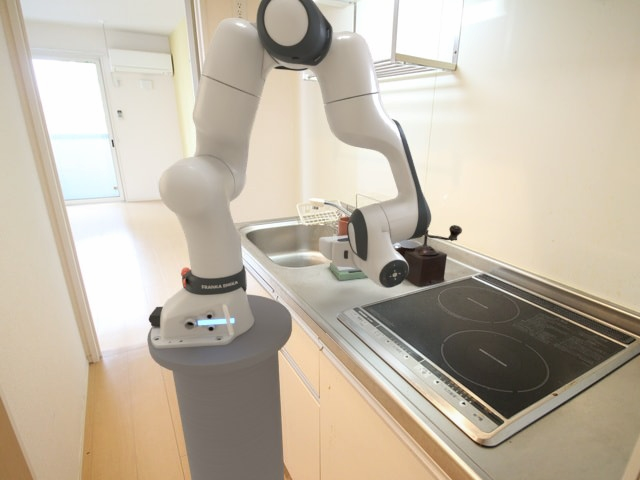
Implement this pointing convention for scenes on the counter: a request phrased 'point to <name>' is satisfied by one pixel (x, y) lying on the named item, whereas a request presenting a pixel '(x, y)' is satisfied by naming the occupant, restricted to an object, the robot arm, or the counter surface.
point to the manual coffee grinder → (428, 260)
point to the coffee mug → (407, 246)
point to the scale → (347, 272)
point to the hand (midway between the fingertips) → (348, 235)
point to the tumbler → (342, 225)
